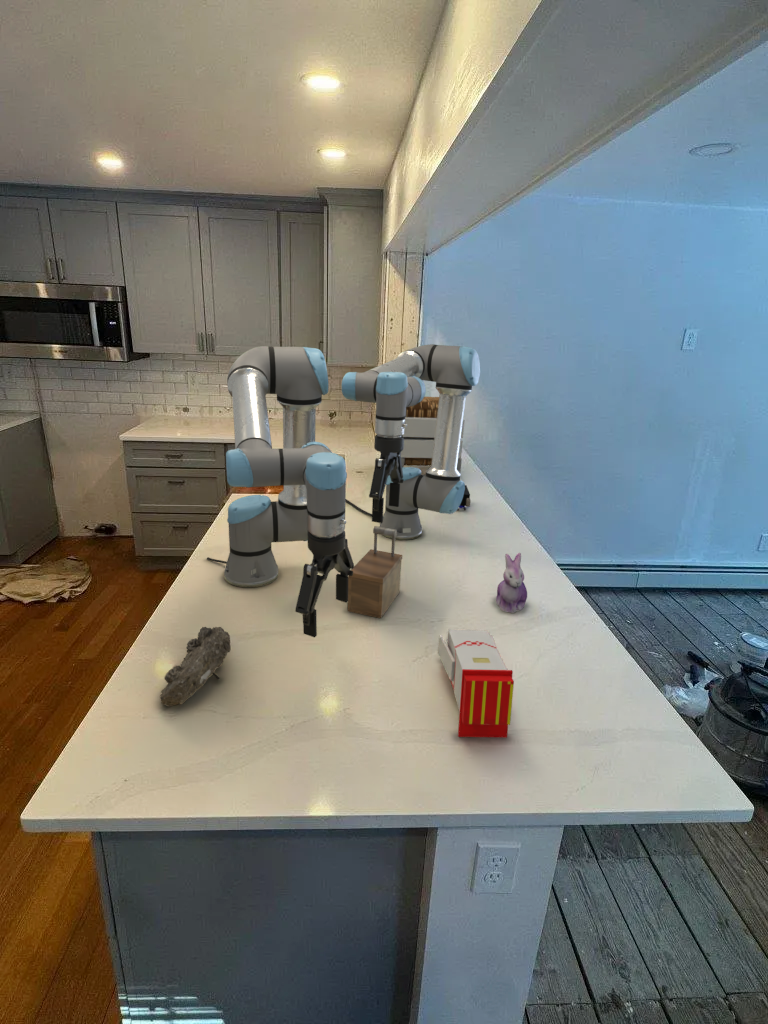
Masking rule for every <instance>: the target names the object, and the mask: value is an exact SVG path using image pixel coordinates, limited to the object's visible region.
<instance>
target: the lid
mask: <svg viewBox="0 0 768 1024" xmlns="http://www.w3.org/2000/svg"><path fill="white" fill-rule="evenodd" d="M372 533H373V549H372V548H371V549H369V550H368V551H367V553H365V554H364V555H363V557H362V558H361V559H359V561H358V562H357V563H356V564H354V568H353V569H350V570H351V571H353V575H352V576H349V575H348V577H354V578H359V579H364V580H369V581H374V582H379V583H383V582H384V581H385V580H386V579H387V577H388V576H389V575H390V573H391V572H392V571H393V570H394V568H395V567H396V566H397V565H398V563H399V562H400V561H401V562H402V559H403V554H399V553H395V549H396V540H395V537H396V534H397V530H396V529H390V528H384V527H379V526H377V525H374V526H373V529H372ZM378 535H379V536H383V535H385V536H391V537H392V539H391V551H390V552H389V551H383V550H378Z"/></svg>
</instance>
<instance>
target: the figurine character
mask: <svg viewBox="0 0 768 1024" xmlns="http://www.w3.org/2000/svg"><path fill="white" fill-rule="evenodd" d="M466 507H468V508H470V507H471V493H470V491H469V488H468V486H467V485H466V484H465V491H464V495H463V498H462V501H461V504H460V506H459V508H458V509H457V510H456V511H459V510H460V509H463V511H465V512H466V511H467V508H466Z"/></svg>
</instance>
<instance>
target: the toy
mask: <svg viewBox="0 0 768 1024" xmlns="http://www.w3.org/2000/svg"><path fill="white" fill-rule="evenodd" d="M446 640H447V643H446V641H445V639H444V636H443V635H442V634H439V637H438V646H437V656H438V657H439V659H440V661H441V663H442V666H443V668H444V670H445V672H446V674H447V677H448V679H449V681H450V684H451V687H452V690H453V693H454V697H455V701H456V705H457V708H458V711H459V714H458V715H459V716H458V730H457V731H458V732H457V737H458V738H508V731H509V726H510V725H511V717H512V707H513V697H514V696H513V695H514V684H515V680H514V679H513V673H514V671H513V670H512V669H508V667H507V665H506V662H505V661H504V659H503V658H502V655H501V653H500V651H499V649H498V647H497V643H496V639H495V637H494V635H493V634H491V632H490V631H489V629H467V628H466V629H465V628H463V629H461V628H460V629H459V628H448V630H447V639H446Z"/></svg>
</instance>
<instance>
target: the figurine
mask: <svg viewBox="0 0 768 1024" xmlns="http://www.w3.org/2000/svg"><path fill="white" fill-rule="evenodd" d="M511 557H512V556H511V555H509V553H505V555H504V559H505V560H504V561H505V569H504V571H503V580H502V581H500V582H499V583H498V585H497V589H496V597H495V603H496V606H497V607H499V609H500V610H501V611H502V612H505V613H512V614H513V613H517V612H519V611H522V610H523V609H524V608H525V605H526V602H527V599H528V590H527V586H526V584H525V582H524V580H525V574H524V571H523V569H522V567H521V562H522V561H521V560H522V553H521V552H518V553H516V554H515V557H514V559H512V558H511Z"/></svg>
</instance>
